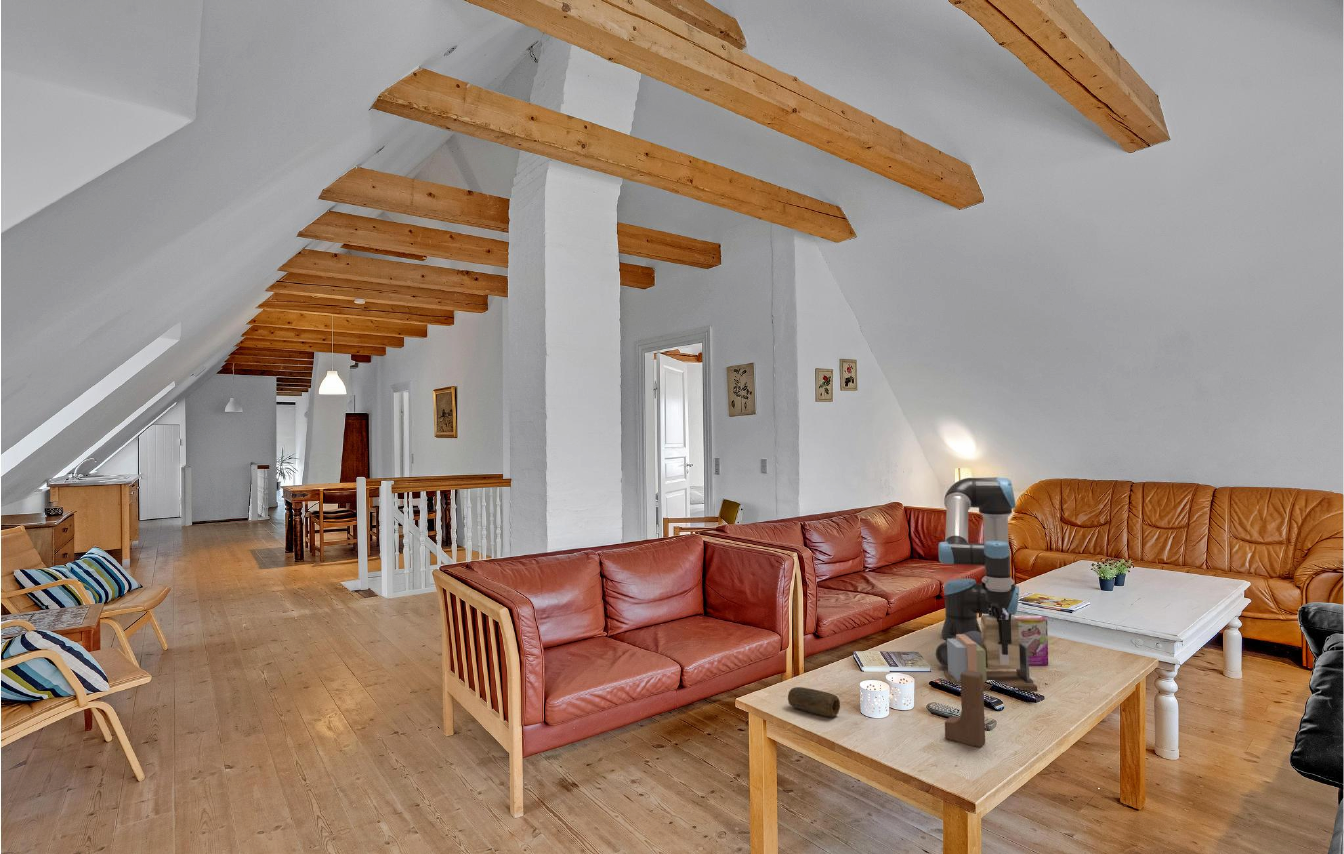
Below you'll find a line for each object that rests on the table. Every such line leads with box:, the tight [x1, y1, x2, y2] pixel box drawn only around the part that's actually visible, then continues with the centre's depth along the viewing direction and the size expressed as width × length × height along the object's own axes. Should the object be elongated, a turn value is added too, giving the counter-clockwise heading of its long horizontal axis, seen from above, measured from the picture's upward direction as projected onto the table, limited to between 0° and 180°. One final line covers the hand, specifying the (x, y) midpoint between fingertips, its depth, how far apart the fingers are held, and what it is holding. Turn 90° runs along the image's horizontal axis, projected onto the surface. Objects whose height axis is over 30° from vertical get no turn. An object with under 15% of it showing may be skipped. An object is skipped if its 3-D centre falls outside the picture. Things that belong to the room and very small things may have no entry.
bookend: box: [1015, 642, 1035, 684], centre depth 216 cm, size 8×2×11 cm, turn 174°
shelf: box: [943, 670, 1038, 692], centre depth 217 cm, size 14×24×2 cm, turn 84°
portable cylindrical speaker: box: [787, 686, 841, 718], centre depth 197 cm, size 15×7×7 cm, turn 52°
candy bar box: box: [1011, 614, 1049, 666], centre depth 235 cm, size 11×5×16 cm, turn 84°
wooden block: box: [944, 670, 986, 748], centre depth 175 cm, size 9×4×18 cm, turn 50°
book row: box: [946, 634, 987, 682], centre depth 218 cm, size 11×9×12 cm
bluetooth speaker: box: [935, 631, 982, 669], centre depth 236 cm, size 23×9×10 cm, turn 131°
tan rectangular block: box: [980, 614, 1020, 670], centre depth 217 cm, size 5×10×16 cm, turn 84°
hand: (1001, 661), depth 217 cm, fingers closed on tan rectangular block, 4 cm apart
